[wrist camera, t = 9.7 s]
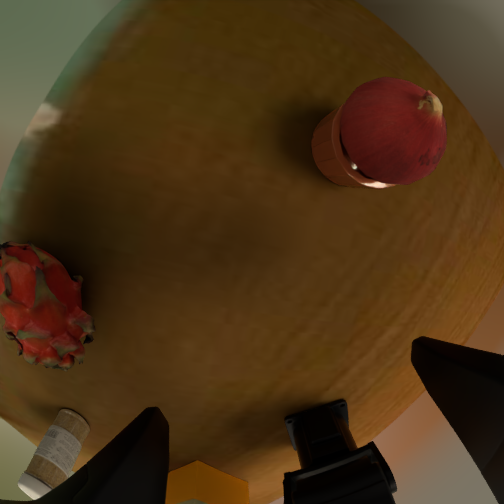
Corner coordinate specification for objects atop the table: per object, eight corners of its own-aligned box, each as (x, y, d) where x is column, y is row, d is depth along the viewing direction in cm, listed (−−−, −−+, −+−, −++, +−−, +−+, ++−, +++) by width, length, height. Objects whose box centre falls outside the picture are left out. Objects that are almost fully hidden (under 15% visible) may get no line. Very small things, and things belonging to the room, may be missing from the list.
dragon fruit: (110, 340, 23) (44, 240, 22) (132, 322, 17) (47, 189, 16) (48, 393, 16) (-20, 281, 16) (42, 398, 11) (-42, 239, 10)
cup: (387, 179, 19) (421, 179, 15) (322, 194, 19) (345, 197, 15) (369, 108, 18) (399, 94, 14) (301, 117, 18) (320, 100, 14)
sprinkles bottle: (68, 427, 24) (31, 500, 11) (54, 403, 23) (8, 478, 10) (96, 435, 24) (63, 515, 11) (83, 411, 23) (40, 496, 10)
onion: (405, 128, 16) (481, 90, 8) (392, 203, 16) (481, 195, 8) (332, 94, 15) (387, 26, 7) (313, 172, 16) (375, 132, 8)
